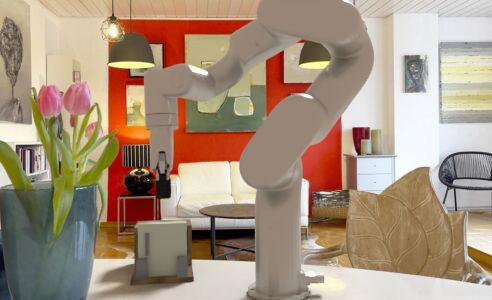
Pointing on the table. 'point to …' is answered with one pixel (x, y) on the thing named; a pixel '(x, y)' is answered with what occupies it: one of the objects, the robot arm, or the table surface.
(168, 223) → the door
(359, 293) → the table surface
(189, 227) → the cabinet
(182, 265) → the hinge clips
